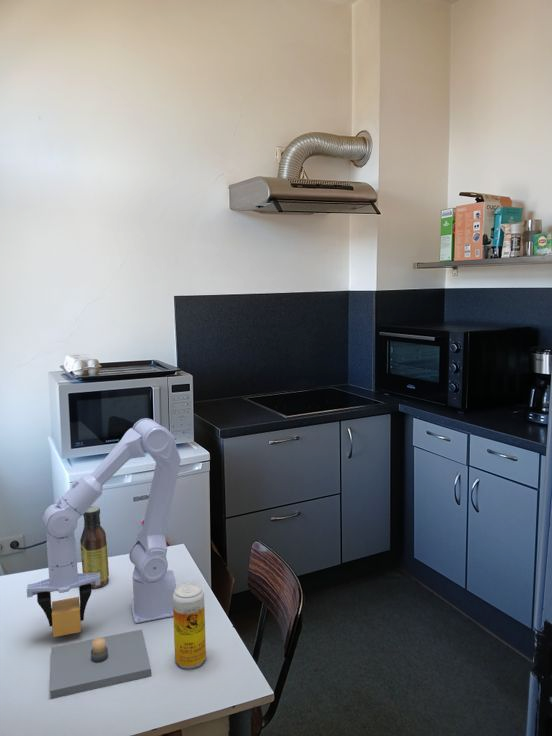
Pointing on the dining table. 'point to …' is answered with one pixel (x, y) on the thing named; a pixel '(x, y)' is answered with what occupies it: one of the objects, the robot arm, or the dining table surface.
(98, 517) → the sauce bottle
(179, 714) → the dining table surface
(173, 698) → the dining table surface
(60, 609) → the orange cube
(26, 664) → the dining table surface
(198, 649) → the beer can
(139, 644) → the post board
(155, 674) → the dining table surface
